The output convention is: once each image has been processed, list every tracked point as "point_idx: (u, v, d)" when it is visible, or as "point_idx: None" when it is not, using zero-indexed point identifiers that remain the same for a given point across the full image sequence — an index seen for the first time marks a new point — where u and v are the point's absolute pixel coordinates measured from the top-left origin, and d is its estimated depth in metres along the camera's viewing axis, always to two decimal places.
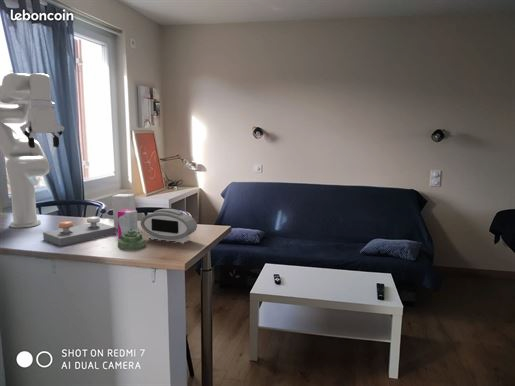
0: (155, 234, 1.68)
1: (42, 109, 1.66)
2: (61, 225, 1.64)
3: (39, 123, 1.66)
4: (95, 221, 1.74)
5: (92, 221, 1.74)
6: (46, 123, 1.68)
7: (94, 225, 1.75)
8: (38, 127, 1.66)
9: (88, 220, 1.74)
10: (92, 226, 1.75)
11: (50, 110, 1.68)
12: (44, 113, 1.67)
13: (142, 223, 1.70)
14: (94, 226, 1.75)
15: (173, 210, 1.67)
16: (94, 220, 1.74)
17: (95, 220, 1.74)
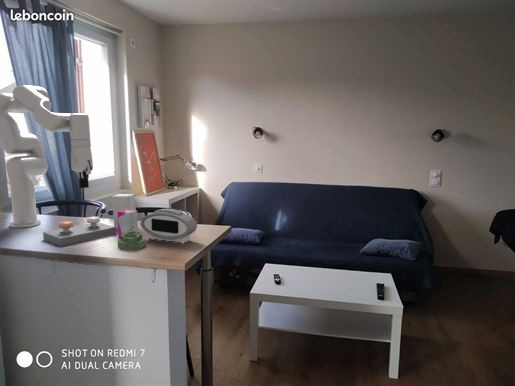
0: (155, 234, 1.68)
1: None
2: (61, 225, 1.64)
3: None
4: (95, 221, 1.74)
5: (92, 221, 1.74)
6: None
7: (94, 225, 1.75)
8: None
9: (88, 220, 1.74)
10: (92, 226, 1.75)
11: None
12: None
13: (142, 223, 1.70)
14: (94, 226, 1.75)
15: (173, 210, 1.67)
16: (94, 220, 1.74)
17: (95, 220, 1.74)
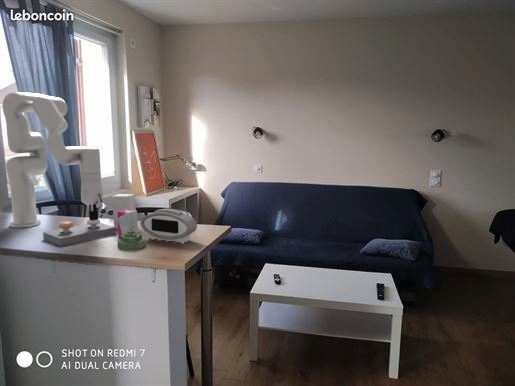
0: (155, 234, 1.68)
1: None
2: (61, 225, 1.64)
3: None
4: (95, 223, 1.74)
5: (92, 223, 1.74)
6: None
7: (94, 227, 1.76)
8: None
9: (88, 222, 1.74)
10: (92, 228, 1.75)
11: None
12: None
13: (142, 223, 1.70)
14: None
15: (173, 210, 1.67)
16: (94, 222, 1.74)
17: (95, 222, 1.74)
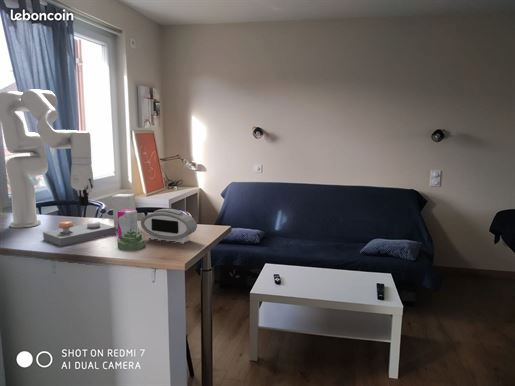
0: (155, 234, 1.68)
1: None
2: (61, 225, 1.64)
3: None
4: (95, 226, 1.74)
5: (92, 226, 1.74)
6: None
7: None
8: None
9: (88, 225, 1.74)
10: None
11: None
12: None
13: (142, 223, 1.70)
14: None
15: (173, 210, 1.67)
16: (94, 225, 1.74)
17: (95, 225, 1.74)
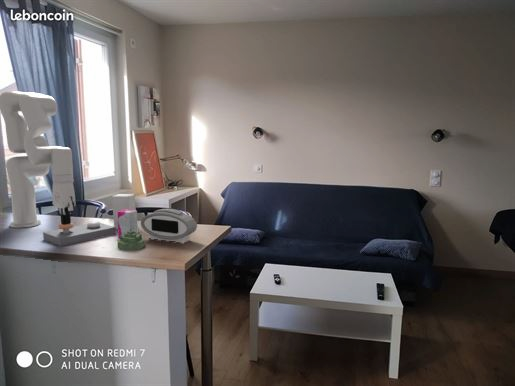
0: (155, 234, 1.68)
1: None
2: (61, 226, 1.64)
3: None
4: (95, 226, 1.74)
5: (92, 226, 1.74)
6: None
7: None
8: None
9: (88, 225, 1.74)
10: None
11: None
12: None
13: (142, 223, 1.70)
14: None
15: (173, 210, 1.67)
16: (94, 225, 1.74)
17: (95, 225, 1.74)
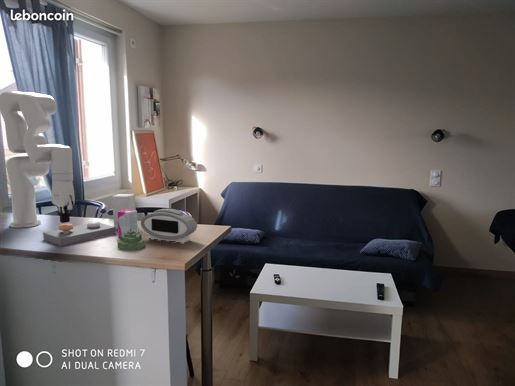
0: (155, 234, 1.68)
1: None
2: (61, 227, 1.64)
3: None
4: (95, 226, 1.74)
5: (92, 226, 1.74)
6: None
7: None
8: None
9: (88, 225, 1.74)
10: None
11: None
12: None
13: (142, 223, 1.70)
14: None
15: (173, 210, 1.67)
16: (94, 225, 1.74)
17: (95, 225, 1.74)
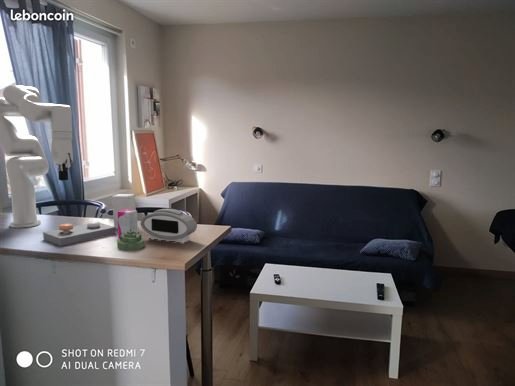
0: (155, 234, 1.68)
1: None
2: (61, 227, 1.64)
3: None
4: (95, 226, 1.74)
5: (92, 226, 1.74)
6: None
7: None
8: None
9: (88, 225, 1.74)
10: None
11: None
12: None
13: (142, 223, 1.70)
14: None
15: (173, 210, 1.67)
16: (94, 225, 1.74)
17: (95, 225, 1.74)
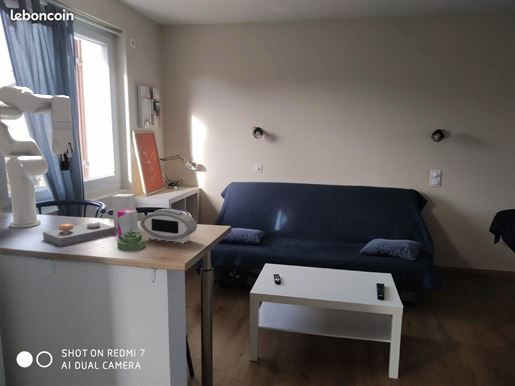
0: (155, 234, 1.68)
1: None
2: (61, 227, 1.64)
3: None
4: (95, 226, 1.74)
5: (92, 226, 1.74)
6: None
7: None
8: None
9: (88, 225, 1.74)
10: None
11: None
12: None
13: (142, 223, 1.70)
14: None
15: (173, 210, 1.67)
16: (94, 225, 1.74)
17: (95, 225, 1.74)
